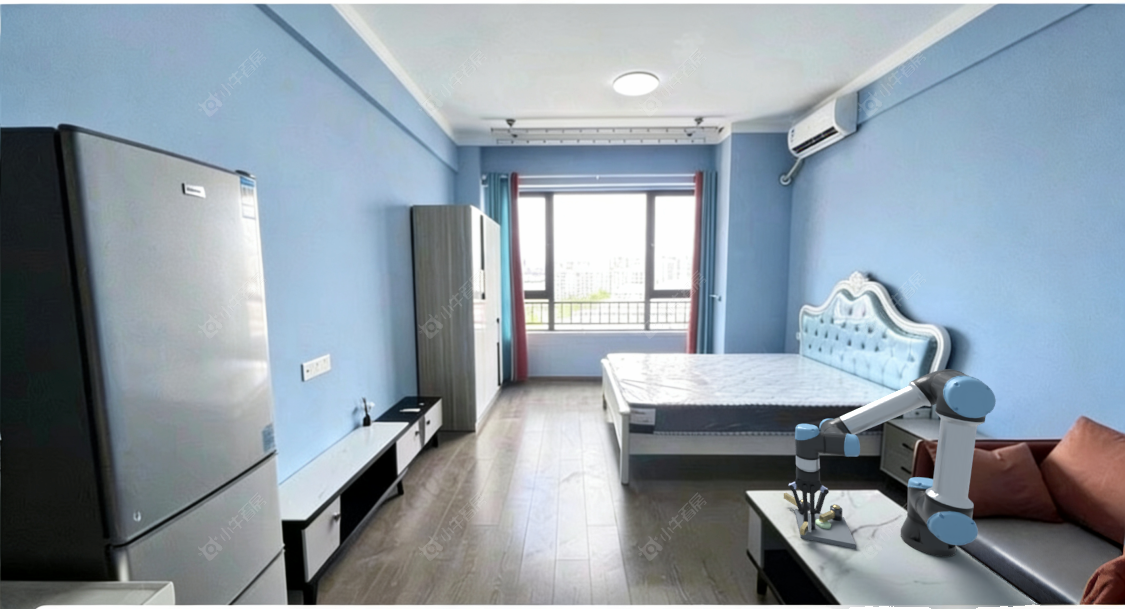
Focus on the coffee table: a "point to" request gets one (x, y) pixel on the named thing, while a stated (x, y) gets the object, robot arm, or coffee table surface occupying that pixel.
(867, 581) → the coffee table surface
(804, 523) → the knob
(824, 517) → the knob
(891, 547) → the coffee table surface
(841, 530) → the base plate
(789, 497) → the knob
